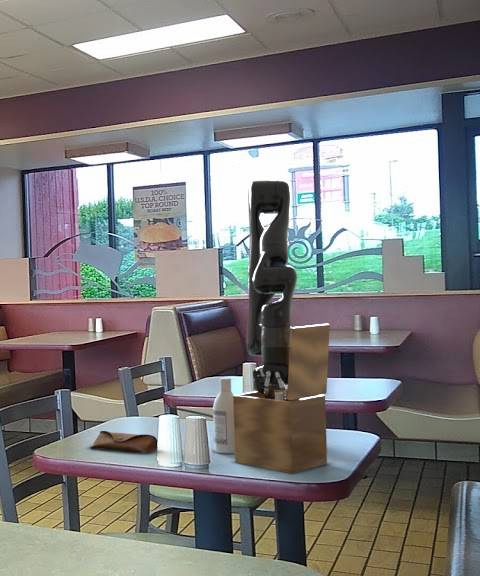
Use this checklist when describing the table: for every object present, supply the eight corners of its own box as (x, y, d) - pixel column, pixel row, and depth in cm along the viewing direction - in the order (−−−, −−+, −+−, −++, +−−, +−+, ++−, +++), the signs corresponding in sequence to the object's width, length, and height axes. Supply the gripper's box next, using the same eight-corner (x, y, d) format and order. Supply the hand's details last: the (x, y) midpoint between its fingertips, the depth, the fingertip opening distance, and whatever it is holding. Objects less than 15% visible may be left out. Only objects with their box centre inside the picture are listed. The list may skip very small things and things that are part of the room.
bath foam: (236, 448, 228) (234, 376, 228) (244, 453, 221) (241, 379, 221) (211, 449, 228) (209, 377, 228) (218, 454, 221) (215, 380, 221)
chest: (235, 462, 212) (233, 395, 211) (271, 453, 220) (269, 389, 220) (291, 473, 198) (288, 401, 198) (327, 464, 206) (325, 395, 206)
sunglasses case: (87, 447, 234) (91, 425, 237) (96, 455, 239) (101, 433, 242) (147, 452, 224) (151, 429, 227) (155, 461, 229) (159, 438, 232)
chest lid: (290, 327, 196) (293, 328, 196) (326, 323, 205) (329, 324, 204) (287, 399, 198) (290, 400, 197) (323, 393, 206) (326, 393, 205)
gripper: (310, 344, 205) (313, 413, 205) (262, 342, 217) (264, 406, 217) (292, 347, 200) (294, 416, 201) (244, 344, 212) (246, 410, 212)
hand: (279, 411), depth 209 cm, fingers closed on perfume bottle, 4 cm apart
